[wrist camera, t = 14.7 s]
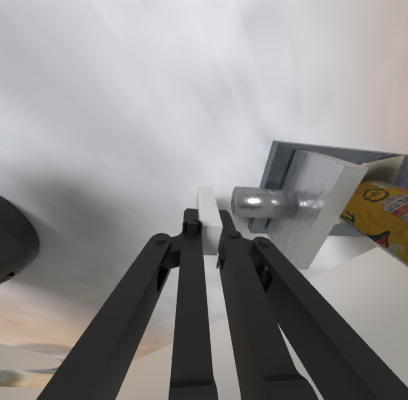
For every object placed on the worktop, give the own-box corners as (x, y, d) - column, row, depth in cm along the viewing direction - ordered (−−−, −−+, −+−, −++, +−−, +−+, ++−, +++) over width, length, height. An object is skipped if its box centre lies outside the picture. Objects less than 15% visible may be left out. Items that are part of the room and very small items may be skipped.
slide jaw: (223, 230, 21) (234, 268, 16) (241, 144, 16) (265, 158, 11) (279, 232, 22) (307, 269, 17) (313, 151, 17) (369, 167, 12)
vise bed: (247, 227, 23) (269, 269, 17) (273, 140, 18) (319, 155, 11) (367, 231, 25) (426, 270, 19) (424, 156, 20) (533, 176, 14)
